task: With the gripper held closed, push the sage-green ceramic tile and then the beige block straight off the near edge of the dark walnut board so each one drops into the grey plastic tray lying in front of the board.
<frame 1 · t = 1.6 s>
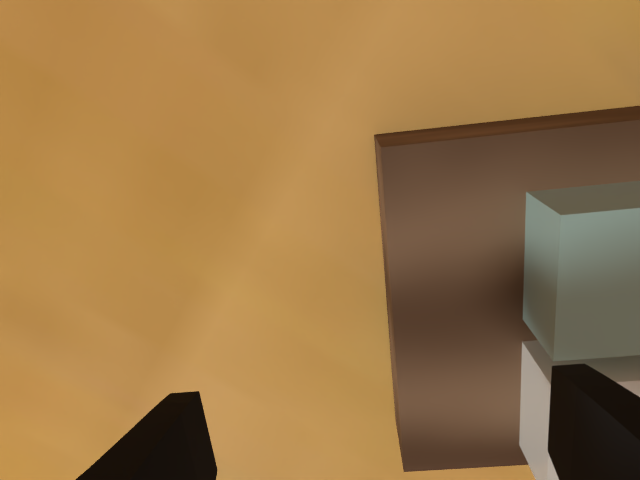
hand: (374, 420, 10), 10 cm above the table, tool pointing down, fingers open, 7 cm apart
beige block: (584, 390, 18), point 3 cm above the table, touching board
board: (534, 280, 20), on the table
sage tile: (595, 252, 16), point 3 cm above the table, touching board
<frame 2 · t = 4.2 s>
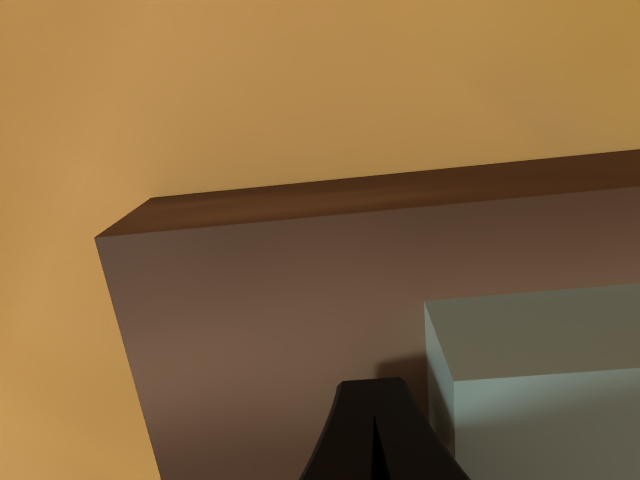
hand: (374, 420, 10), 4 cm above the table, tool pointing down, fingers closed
board: (405, 398, 14), on the table
sage tile: (539, 390, 10), point 3 cm above the table, touching board, gripper
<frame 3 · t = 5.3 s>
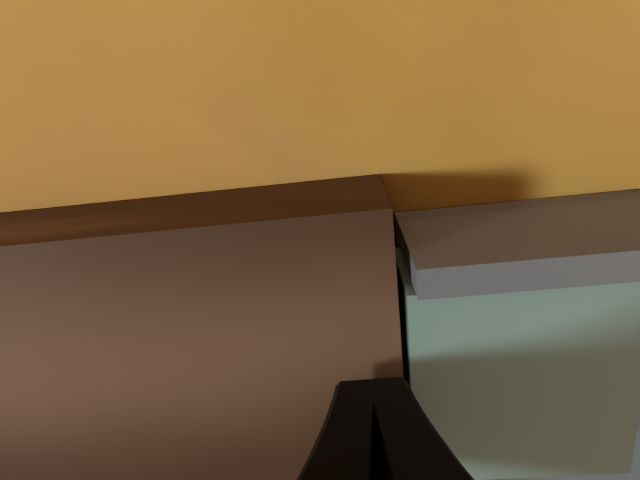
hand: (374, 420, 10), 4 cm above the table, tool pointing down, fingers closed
tray: (538, 432, 14), on the table
board: (190, 412, 14), on the table
sage tile: (488, 325, 12), point 1 cm above the table, touching tray
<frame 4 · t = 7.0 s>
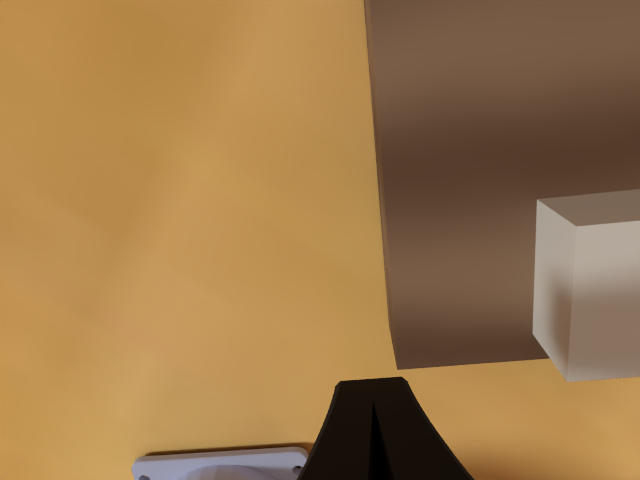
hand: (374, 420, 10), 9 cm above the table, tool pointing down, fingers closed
beige block: (610, 263, 15), point 3 cm above the table, touching board
board: (549, 147, 17), on the table
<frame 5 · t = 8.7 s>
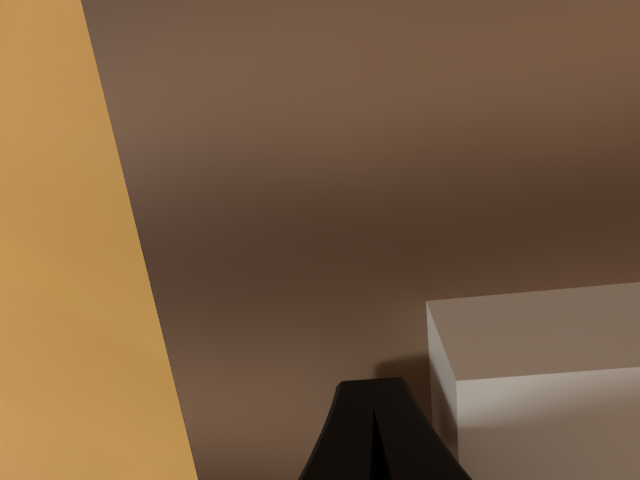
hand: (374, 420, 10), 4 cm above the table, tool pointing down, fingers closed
beige block: (543, 390, 10), point 3 cm above the table, touching board, gripper
board: (429, 210, 12), on the table
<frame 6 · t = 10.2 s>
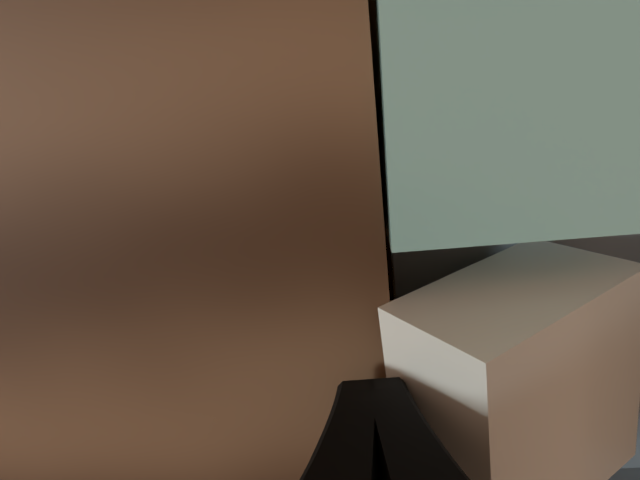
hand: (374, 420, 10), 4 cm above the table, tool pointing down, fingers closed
beige block: (467, 360, 11), point 2 cm above the table, tilted 34°, touching gripper, tray
tray: (539, 255, 12), on the table
board: (141, 237, 13), on the table
sage tile: (481, 101, 11), point 1 cm above the table, touching tray
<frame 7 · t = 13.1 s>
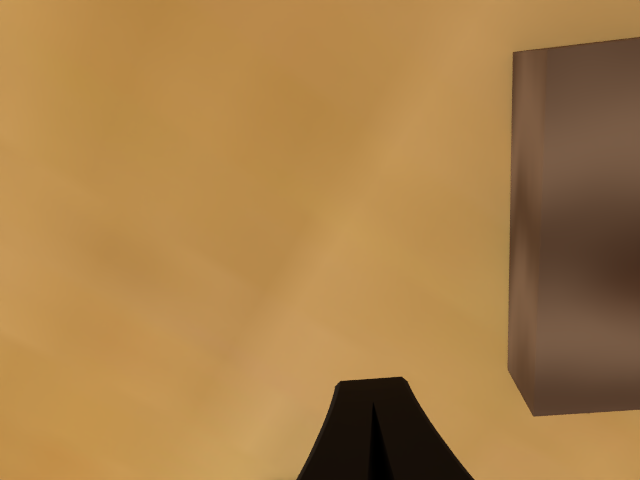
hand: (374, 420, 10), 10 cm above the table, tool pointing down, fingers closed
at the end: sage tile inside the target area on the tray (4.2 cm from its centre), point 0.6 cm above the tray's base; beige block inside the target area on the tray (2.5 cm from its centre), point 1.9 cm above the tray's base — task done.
